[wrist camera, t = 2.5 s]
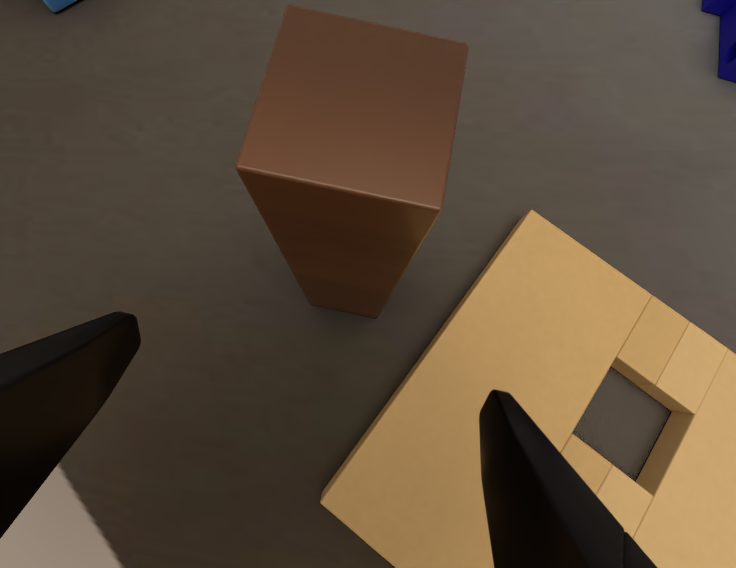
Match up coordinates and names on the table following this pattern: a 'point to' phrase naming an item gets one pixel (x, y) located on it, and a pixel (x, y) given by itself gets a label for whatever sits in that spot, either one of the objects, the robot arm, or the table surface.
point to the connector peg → (352, 151)
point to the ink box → (57, 4)
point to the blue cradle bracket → (725, 35)
